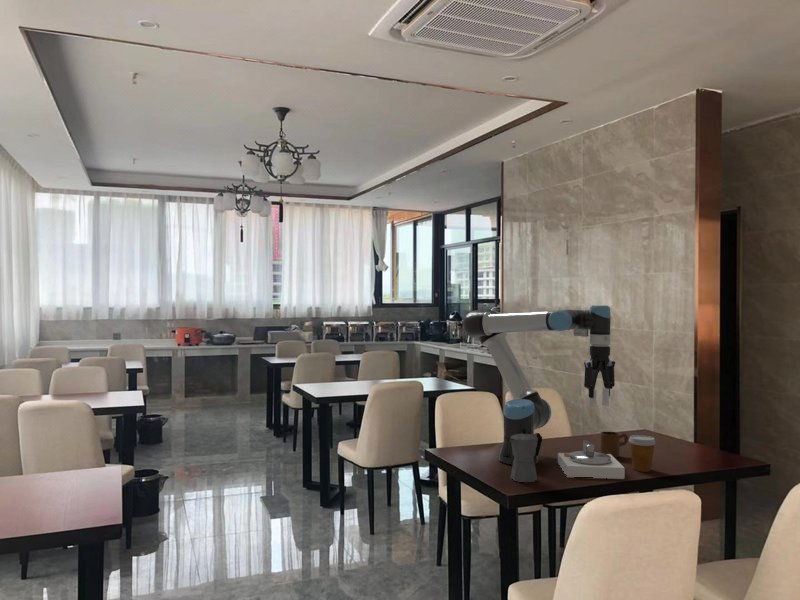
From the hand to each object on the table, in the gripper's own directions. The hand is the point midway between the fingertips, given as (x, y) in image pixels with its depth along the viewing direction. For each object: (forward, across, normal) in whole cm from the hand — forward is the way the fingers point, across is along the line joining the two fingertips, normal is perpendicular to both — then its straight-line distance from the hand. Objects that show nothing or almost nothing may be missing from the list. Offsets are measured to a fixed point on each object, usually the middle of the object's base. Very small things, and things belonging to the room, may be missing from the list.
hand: (599, 405), depth 246 cm
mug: (+23, +16, +8) cm, 29 cm away
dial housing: (+23, -9, -5) cm, 25 cm away
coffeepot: (+23, -37, -4) cm, 44 cm away
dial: (+19, -9, -4) cm, 21 cm away
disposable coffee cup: (+23, +11, -11) cm, 28 cm away
